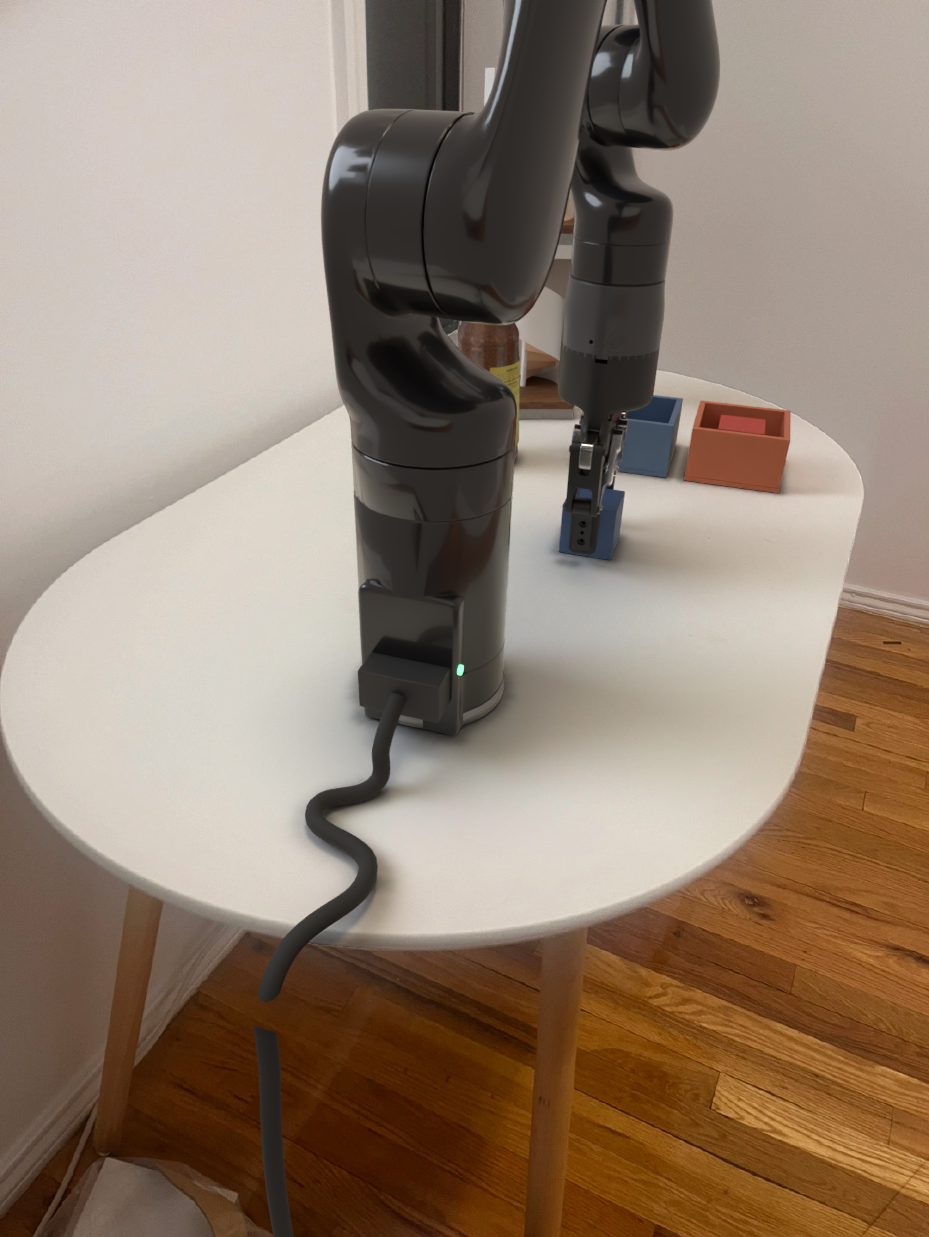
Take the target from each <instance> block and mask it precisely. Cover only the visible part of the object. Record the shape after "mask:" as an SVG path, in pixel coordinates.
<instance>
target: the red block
mask: <svg viewBox="0 0 929 1237" xmlns="http://www.w3.org/2000/svg"><path fill="white" fill-rule="evenodd" d="M765 425H766V420H764V419H755V418H747V417H738V416H730V415H721V417H720V422H719V427H718V430H726V431H734V432H742V433H751V434H759V435H765Z"/></svg>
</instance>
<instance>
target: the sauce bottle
mask: <svg viewBox="0 0 929 1237" xmlns="http://www.w3.org/2000/svg"><path fill="white" fill-rule="evenodd" d="M518 343H519V330H518V328H517V326H516V324H515V323H513V324H510V325H497V326H496V325H486V324H478V323H470V322H463V321H460V324H459V325H458V330H457V347H458V348H459V349H460V350H461V351H462V352H463V353H464V354H465V355H467V356H468V357H469V358H470V359H471V360H473V361H474V362H476V363H477V364H478V365H480V366H481V367H483V368H484V369H486V370H487V371H489V372H491V373H492V374H494V375H495V376H497V377H498V378H500V379H501V380H502V381H503V382H504V383H505V384H507V385H508V387H509V388H510V389H511V391H512V392H513V394H514V397H515V400H516V405H517V426H516V441H515V460H516V459H517V456H518V453H519V450H518V449H519V442H520V419H519V386H520V358H519V344H518Z"/></svg>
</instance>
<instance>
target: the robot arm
mask: <svg viewBox="0 0 929 1237" xmlns="http://www.w3.org/2000/svg"><path fill="white" fill-rule="evenodd" d="M607 3H608V0H502V6H503V7H502V8H503V25H502V35H501V42H500V48H499V49H500V50H499V55H498V60H497V66H496V68H497V70H496V74H495V78H494V82H493V86H492V89H491V92H490V95H489V98H488V100H487V102H486V104H485V106H484V105H483V108H482V109H481V111H480V112H477V111H475V112H474V111H457V110H439V109H438V110H437V109H418V108H417V109H416V108H415V109H414V108H374V109H367V110H364V111H361V112H359V113H357V114H356V115H354V116H352V117H351V118H350V119H348V120H347V121H346V123H345V124H344V125H343V126H342V127H341V129H340V130H339V132H338V133H337V135H336V137H335V138H334V141H333V143H332V146H331V148H330V150H329V153H328V157H327V160H326V164H325V169H324V174H323V179H322V186H321V200H320V236H321V250H322V260H323V270H324V271H323V272H324V279H325V288H326V297H327V305H328V315H329V323H330V332H331V341H332V350H333V360H334V361H333V362H334V370H335V379H336V384H337V390H338V392H339V396H340V398H341V400H342V403H343V405H344V408H345V410H346V412H347V414H348V417H349V418H348V419H349V424H350V439H351V443H350V444H351V461H352V478H353V479H352V480H353V483H352V484H353V507H354V508H353V509H354V525H355V527H354V528H355V544H356V545H355V547H356V549H355V550H356V564H357V565H356V566H357V567H356V568H357V585H358V586H357V587H358V590H357V596H358V597H357V599H358V601H357V602H358V618H359V637H360V638H359V641H360V658H361V659H360V660H361V666H360V667H359V668H358V670H357V683H358V701H359V702H358V704H359V707H362V708H363V715H364V716H365V717H368V718H371V719H377V720H379V722H378V725H377V727H376V731H375V734H374V738H373V742H372V747H371V762H372V773H371V774H370V776H369V777H368V778H367V779H366V780H365V781H363V782H361V783H358V784H355V785H349V786H343V787H334V788H329V789H325V790H322V791H320V792H318V793H316V794H315V796H313V797H312V798H310V799H309V801H308V803H307V804H306V807H305V812H304V819H305V823H306V826H307V828H308V830H310V832H312V834H314V835H315V836H316V837H318V838H319V839H321V840H322V841H323V842H326V844H329V845H330V846H333V847H334V848H336V849H339V850H340V851H342V852H344V853H345V854H347V855H349V857H351V858H352V859H353V860H355V863H356V864H357V868H358V869H357V874H356V876H355V878H354V880H353V882H351V884H350V886H349V887H347V888H346V889H345V890H344V891H343V892H341V893H340V894H338V895H337V896H335V897H334V898H332V899H330V900H329V901H328V902H326V903H324V904H323V905H321V906H320V907H318V908H317V909H315V910H313V911H312V912H311V913H309V914H308V915H307V916H305V917H304V918H303V919H301V920H300V921H299V922H298V923H297V924H296V925H295V926H294V927H293V928H292V929H291V930H290V931H289V932H288V933H287V934H285V935H284V938H282V940H281V941H280V942H279V944H278V945H277V946H276V948H275V950H274V951H273V954H272V955H271V957H270V959H269V961H268V963H267V965H266V967H265V970H264V973H263V975H262V977H261V981H260V984H259V987H258V991H257V997H258V999H259V1001H261V1002H264V1003H268V1002H272V1001H274V1000H275V999H276V998H277V997H278V996H280V994H281V990H282V988H283V985H284V982H285V980H286V977H287V975H288V972H289V970H290V968H291V966H292V964H293V963H294V961H295V959H296V958H297V957H298V955H299V954H300V952H301V951H302V950H303V949H304V948H305V946H307V945H308V944H309V943H310V942H311V941H312V940H313V939H314V938H315V937H317V936H318V935H319V934H321V933H322V932H323V931H325V930H326V929H328V928H329V927H331V926H332V925H333V924H335V923H336V922H338V921H340V920H342V919H343V918H344V917H346V916H347V915H349V914H350V913H351V912H352V911H354V910H355V909H356V908H358V907H359V906H360V905H362V903H363V902H364V901H365V900H366V899H367V898H368V897H369V895H370V894H371V893H372V891H373V890H374V887H375V884H376V882H377V876H378V870H379V868H378V867H379V864H378V860H377V859H378V858H377V855H376V854H375V852H374V850H373V849H372V848H371V847H370V846H369V845H368V844H367V843H366V842H365V841H363V840H362V839H361V838H359V837H358V836H356V835H355V834H353V833H351V832H350V831H347V830H345V829H343V828H342V827H340V826H337V825H335V824H334V823H332V822H331V821H329V820H328V819H327V818H326V817H325V815H324V813H325V811H326V810H328V809H331V808H336V807H343V806H349V805H350V806H351V805H355V804H360V803H363V802H366V801H368V800H370V799H372V798H374V797H375V796H377V795H378V794H379V793H380V792H381V791H382V790H384V788H385V787H386V785H387V784H388V782H389V780H390V776H391V758H390V752H391V747H392V743H393V738H394V735H395V732H396V728H397V726H398V724H399V725H403V726H405V727H412V728H417V729H423V730H427V731H432V732H435V733H439V734H445V735H449V736H455V735H457V734H458V733H459V731H460V729H461V728H462V727H463V726H464V725H466V724H469V723H472V722H475V721H477V720H479V719H481V718H482V717H484V716H486V715H487V714H488V713H491V711H492V710H493V709H495V708H496V706H497V705H498V704H499V703H500V700H501V699H502V698H503V694H504V690H505V689H504V688H505V670H504V662H505V661H504V660H505V644H506V643H505V642H506V625H507V624H506V623H507V622H506V621H507V605H508V604H507V603H508V585H509V567H510V566H509V564H510V547H511V530H512V513H513V512H512V511H513V492H514V479H515V464H516V463H515V462H516V459H515V441H516V426H517V405H516V400H515V397H514V394H513V392H512V391H511V389H510V388H509V387H508V385H507V384H505V383H504V382H503V381H502V380H501V379H500V378H498V377H497V376H495V375H494V374H492V373H491V372H489V371H487V370H486V369H484V368H483V367H481V366H480V365H478V364H477V363H476V362H474V361H473V360H471V359H470V358H469V357H468V356H467V355H465V354H464V353H463V352H462V351H461V350H460V349H459V348H458V345H456V343H455V342H454V341H453V340H452V339H451V338H450V336H449V335H448V333H447V332H446V331H445V329H444V327H443V326H442V323H441V320H440V319H444V320H451V321H458V322H462V321H463V322H470V323H478V324H486V325H496V326H497V325H510V324H513V323H516V322H517V321H519V320H520V319H522V318H523V317H524V316H525V315H526V314H528V313H529V312H530V310H531V309H532V308H533V306H534V305H535V303H536V301H537V299H538V298H539V296H540V294H541V292H542V290H543V289H544V287H545V284H546V282H547V279H548V277H549V274H550V271H551V268H552V265H553V262H554V258H555V255H556V252H557V248H558V244H559V240H560V236H561V232H562V228H563V223H564V218H565V213H566V208H567V204H568V199H569V194H570V192H571V197H572V202H573V208H574V229H573V240H572V253H571V266H570V277H569V284H568V289H567V294H566V298H565V304H564V313H563V326H562V338H561V352H560V365H559V378H558V394H559V396H560V397H561V399H562V400H563V401H565V402H566V403H568V404H570V405H572V406H573V405H574V406H575V407H576V408H578V409H580V411H582V413H580V416H579V421H578V423H575V424H574V427H573V429H572V436H571V443H570V445H569V447H568V452H569V459H568V460H569V461H568V473H567V486H566V497H565V500H566V502H565V508H566V510H565V511H566V513H570V514H572V516H571V527H570V538H569V549H570V551H572V552H574V553H581V554H587V555H592V554H593V553H594V552H595V550H596V547H597V538H598V529H599V520H600V513H601V511H602V510H603V505H602V503H603V497H604V492H605V489H613V490H615V482H616V476H617V475H618V472H619V473H620V471H619V469H620V466H619V462H620V461H622V459H623V454H624V450H625V440H626V437H627V433H628V428H629V420H628V419H627V413H628V411H634V410H637V409H640V408H643V407H645V406H646V405H648V404H649V403H650V402H651V400H652V398H653V395H655V394H654V393H655V386H656V378H657V372H658V365H659V364H658V363H659V356H660V351H661V350H660V349H661V340H662V334H663V326H664V319H665V308H666V306H665V305H666V301H665V300H666V298H665V296H666V295H665V294H666V293H665V292H666V290H665V289H666V277H667V271H668V265H669V264H668V263H669V257H670V256H669V255H670V250H671V239H672V233H673V226H674V205H673V201H672V199H671V198H670V197H669V196H668V194H667V193H665V192H663V191H662V190H660V189H658V188H656V187H653V186H652V185H650V184H648V183H647V182H645V181H643V180H642V178H640V176H639V173H638V172H637V167H636V163H635V157H634V151H633V149H641V150H642V149H644V150H652V151H663V152H665V151H666V152H667V151H675V150H679V149H682V148H684V147H687V145H689V144H691V143H692V142H693V141H694V140H695V139H696V138H697V137H698V136H699V135H700V134H701V132H702V131H703V129H704V128H705V126H706V125H707V123H708V120H709V119H710V116H712V113H713V110H714V108H715V104H716V101H717V98H718V93H719V89H720V81H721V56H720V46H719V39H718V37H719V36H718V32H717V26H716V25H717V24H716V18H715V12H714V5H713V0H632V3H633V7H634V10H635V15H636V20H637V24H605V25H603V20H604V16H605V11H606V7H607ZM580 488H582V489H589V490H591V491H592V499H590V498H583V497H579V494H580ZM253 1031H254V1044H255V1051H256V1059H257V1068H258V1084H259V1085H258V1086H259V1089H258V1090H259V1119H260V1120H259V1121H260V1136H261V1153H262V1164H263V1174H264V1176H263V1177H264V1184H265V1193H266V1199H267V1206H268V1213H269V1220H270V1225H271V1231H272V1237H295V1236H294V1230H293V1225H292V1218H291V1211H290V1205H289V1197H288V1188H287V1180H286V1169H285V1168H286V1166H285V1153H284V1137H283V1136H284V1134H283V1116H282V1111H283V1110H282V1065H281V1055H280V1054H281V1053H280V1046H279V1038H278V1033H277V1032H276V1031H274V1030H273V1031H272V1030H270V1029H266V1028H263V1027H261V1026H257V1025H253Z"/></svg>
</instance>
